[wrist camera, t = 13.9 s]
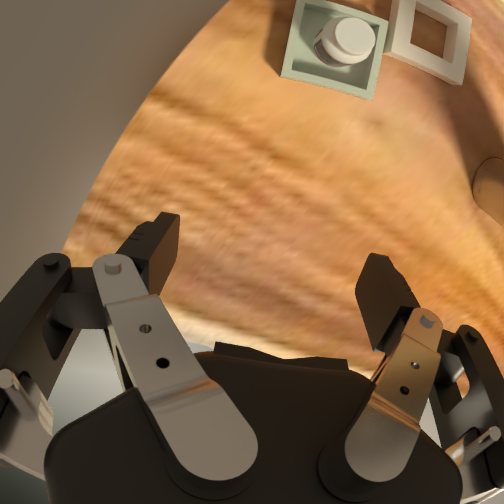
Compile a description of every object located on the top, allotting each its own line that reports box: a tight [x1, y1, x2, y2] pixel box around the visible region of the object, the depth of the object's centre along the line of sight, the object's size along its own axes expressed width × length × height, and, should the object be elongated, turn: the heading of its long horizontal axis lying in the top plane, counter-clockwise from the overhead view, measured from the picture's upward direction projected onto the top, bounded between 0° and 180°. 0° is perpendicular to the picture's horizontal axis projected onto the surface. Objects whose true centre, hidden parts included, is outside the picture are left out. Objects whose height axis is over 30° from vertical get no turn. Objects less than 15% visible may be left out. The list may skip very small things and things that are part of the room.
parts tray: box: [280, 0, 389, 100], centre depth 29 cm, size 11×11×3 cm
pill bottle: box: [313, 17, 375, 67], centre depth 25 cm, size 5×5×10 cm
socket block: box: [383, 0, 472, 85], centre depth 26 cm, size 11×11×3 cm
